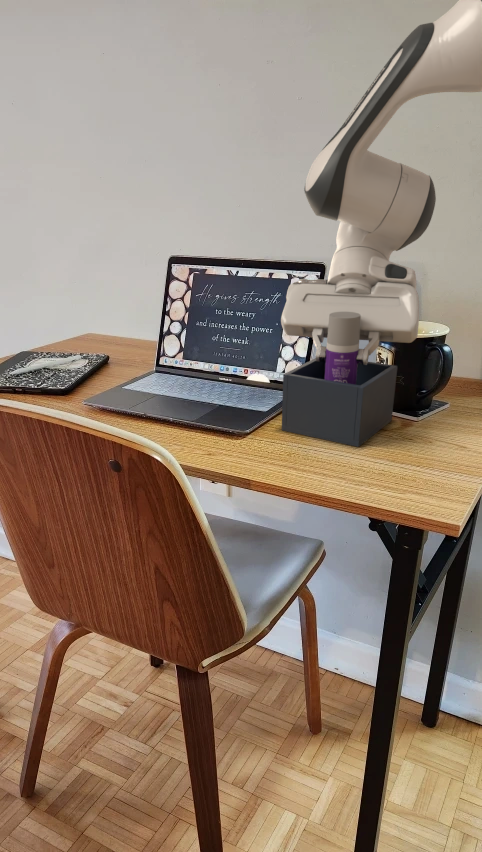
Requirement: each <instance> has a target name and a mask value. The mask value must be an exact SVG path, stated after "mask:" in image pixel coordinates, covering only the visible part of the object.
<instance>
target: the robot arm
mask: <svg viewBox="0 0 482 852" xmlns="http://www.w3.org/2000/svg"><path fill="white" fill-rule="evenodd" d="M481 92H482V0H458V1H456V3H455V4H454V5H453V6H452V7H450V8H449V10H446V12H445V13H444V14H442V15H441V16H440V17H438V18H437V19H436V20H434V21H432V22H427V23H422V24H419V25H418V26H417V27H416V28H414V30H412V31H411V32H409V35H407V37H405V38H404V40H403V41H402V42H401V44H400V45H399V46H398V48H396V50H395V51H394V52H393V54H392V55H391V57H390V58H389V60H388V61H387V62H386V63H385V64H384V66H383V68H382V69H381V70H380V72H379V73H378V74H377V75H376V77H375V78H374V80H373V81H372V83H371V84H370V85H369V87H368V88H367V90H366V91H365V93H364V94H363V96H362V97H361V98H360V100H359V102H357V104H356V105H355V107H354V108H353V110H352V111H351V112H350V114H349V115H348V117H347V118H346V119H345V121H344V123H342V125H341V126H340V128H339V129H338V130H337V132H336V133H335V134H334V135H333V136H332V137H331V138H330V139H329V140H328V142H327V143H326V145H324V146H323V148H322V150H321V151H320V152H319V153H318V155H317V156H316V157H315V159H313V161H312V163H311V165H310V168H309V170H308V173H307V176H306V178H305V179H306V180H305V183H304V188H303V189H304V190H303V191H304V194H305V198H306V200H307V203H308V205H309V206H310V208H311V210H312V211H313V213H314V214H315V216H317V217H320V218H325V219H329V220H332V221H335V222H337V221H338V222H339V224H338V229H337V232H336V239H335V241H336V242H335V243H336V249H335V251H334V253H333V255H332V258H331V262H330V267H329V272H328V276H327V279H317V278H316V279H307V278H300V279H298V281H295V282H293V283H291V284H289V286H288V289H287V291H286V295H285V299H286V302H285V304H284V307H283V310H282V313H281V316H280V324H281V327H282V330H283V331H284V332H285V334H286V335H287V336H290V337H292V336H293V337H306V338H312V340H313V341H312V342H313V344H314V347H315V349H316V351H315V358H316V361H318V362H326V348H327V346H323V345H322V343H323V342H324V339H327V336H328V324H329V314H331V313H334V312H355V313H358V314H360V315H361V318H360V337H359V341H368V343H367V344H366V345H365V347H364V348H359V350H358V355H357V359H356V361H357V364H360V365H367V363H368V362H369V356H371V355H372V354H373V353H374V352H375V350H377V349H378V347H379V345H380V342H387V343H388V342H389V343H403V344H404V343H405V344H410V343H413V342H414V341H415V340H416V339H417V338H418V335H419V325H420V297H419V293H418V291H417V276H416V271H415V269H413V268H411V267H408V266H405V265H403V264H402V265H401V264H398V263H395V262H393V261H391V260H390V257H391V255H392V254H393V252H398V251H401V250H402V249H404V248H406V247H407V246H409V245H411V244H413V243H414V242H415V241H417V240H418V239H420V237H422V235H423V234H424V233H425V232H426V231H427V229H428V227H429V226H430V223H431V221H432V217H433V215H434V211H435V207H436V201H437V198H436V197H437V196H436V195H437V194H436V188H435V183H434V181H433V179H432V177H431V176H430V175H428V174H426V173H424V172H423V171H420V170H418V169H416V168H413V167H410V166H408V165H406V164H403V163H401V162H397V161H394V160H392V159H389V158H387V157H384V156H382V155H380V154H377V153H374V152H372V151H370V150H369V148H370V147H371V146H372V144H373V143H374V141H375V140H376V139H377V138H378V136H380V134H381V132H382V131H383V130H384V128H386V126H387V125H388V123H389V122H390V121H391V120H392V118H394V117H393V116H395V114H396V113H397V111H398V110H399V109H400V108H401V107H402V106H403V105H404V104H406V103H407V102H409V101H411V100H412V99H415V98H418V97H420V96H426V95H430V94H440V93H481Z"/></svg>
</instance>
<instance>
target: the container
mask: <svg viewBox="0 0 482 852" xmlns="http://www.w3.org/2000/svg"><path fill="white" fill-rule="evenodd" d="M360 318H361V315H360V314H358V313H355V312H334V313H331V314H329V324H328V336H327V338H326V347H327V348H326V364H325V380H330V381H336V382H342V383H348V384H354V385H356V379H357V366H358V364H357V361H356V359H357V355H358V350H359V349H360V340H359V337H360Z"/></svg>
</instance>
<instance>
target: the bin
mask: <svg viewBox="0 0 482 852" xmlns="http://www.w3.org/2000/svg"><path fill="white" fill-rule="evenodd" d="M325 364H326V362H318V361H316V357H315V358H313V359H311V360H309V361H307V362H305V363H303V364H301V365H299V366H297V367H294V368H293V369H291V370H289V371H288V372H284V373H282V374H283V375H282V401H281V402H282V406H281V407H282V409H281V431H283V432H288V433H292V434H297V435H302V436H307V437H311V438H315V439H320V440H325V441H330V442H334V443H339V444H343V445H346V446H347V445H348V446H352V447H357V448H359V447H360V446H361V445H363V444H365V442H367V441H368V440H370V438H372V437H373V436H374V435H376V434H377V433H378V432H379V431H381V430H382V429H383V428H384V427H386V426H387V425H388V424H390V423H391V422H392V421H393V410H394V402H395V401H394V400H395V393H396V383H397V373H398V365H394V364H393V365H392V364H387V363H381V362H375V361H374V362H373V361H368V363H367V365H360V364H358V366H357V379H356V385H354V384H348V383H342V382H336V381H330V380H325Z"/></svg>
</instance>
